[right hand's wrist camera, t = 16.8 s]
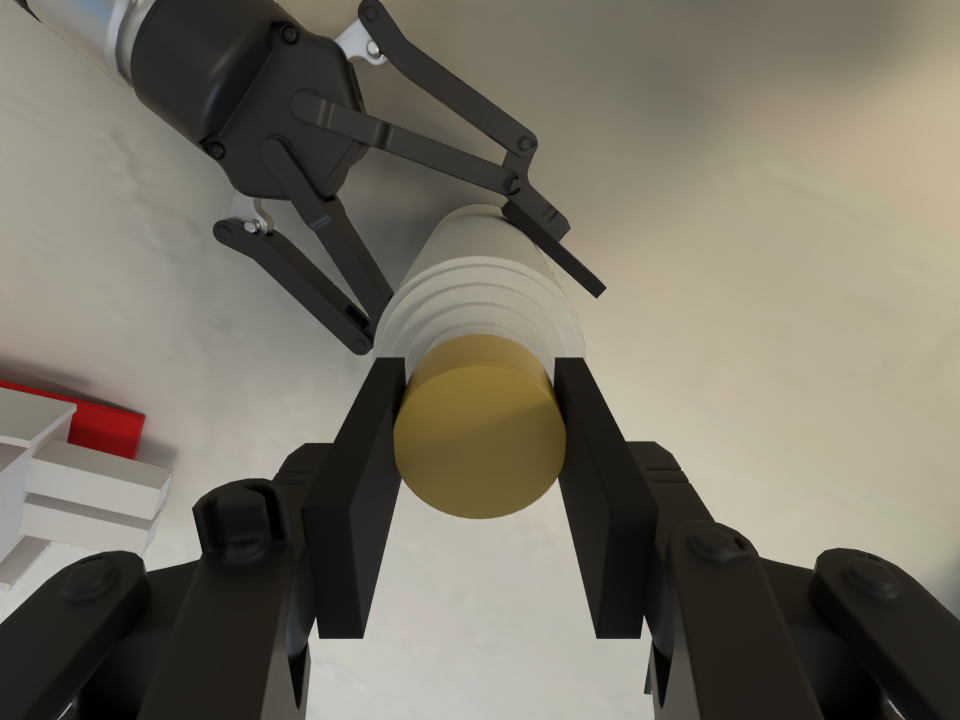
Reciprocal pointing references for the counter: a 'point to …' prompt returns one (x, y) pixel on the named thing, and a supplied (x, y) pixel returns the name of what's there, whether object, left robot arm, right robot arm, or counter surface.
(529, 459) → the cap
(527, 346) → the bottle
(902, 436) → the counter surface
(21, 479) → the toy
